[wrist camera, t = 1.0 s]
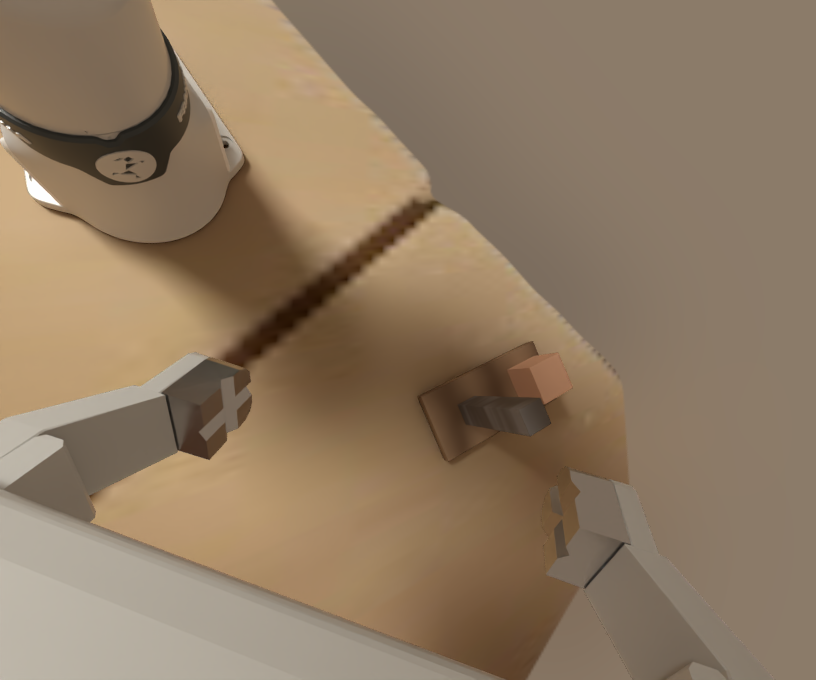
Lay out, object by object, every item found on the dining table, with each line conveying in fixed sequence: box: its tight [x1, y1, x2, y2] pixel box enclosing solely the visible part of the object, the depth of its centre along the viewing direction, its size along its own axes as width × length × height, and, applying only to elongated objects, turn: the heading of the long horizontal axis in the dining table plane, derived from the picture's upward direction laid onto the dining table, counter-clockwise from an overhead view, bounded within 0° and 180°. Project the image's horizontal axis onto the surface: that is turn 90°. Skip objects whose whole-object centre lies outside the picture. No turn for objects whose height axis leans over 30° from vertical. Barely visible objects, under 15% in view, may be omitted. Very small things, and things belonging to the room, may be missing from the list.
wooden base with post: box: [418, 341, 556, 461], centre depth 40 cm, size 17×8×13 cm, turn 115°
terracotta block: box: [507, 353, 573, 404], centre depth 45 cm, size 4×4×4 cm
